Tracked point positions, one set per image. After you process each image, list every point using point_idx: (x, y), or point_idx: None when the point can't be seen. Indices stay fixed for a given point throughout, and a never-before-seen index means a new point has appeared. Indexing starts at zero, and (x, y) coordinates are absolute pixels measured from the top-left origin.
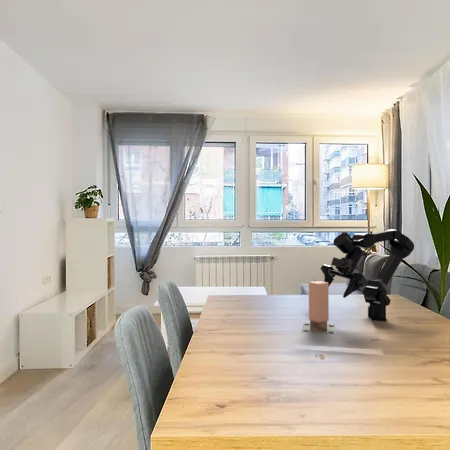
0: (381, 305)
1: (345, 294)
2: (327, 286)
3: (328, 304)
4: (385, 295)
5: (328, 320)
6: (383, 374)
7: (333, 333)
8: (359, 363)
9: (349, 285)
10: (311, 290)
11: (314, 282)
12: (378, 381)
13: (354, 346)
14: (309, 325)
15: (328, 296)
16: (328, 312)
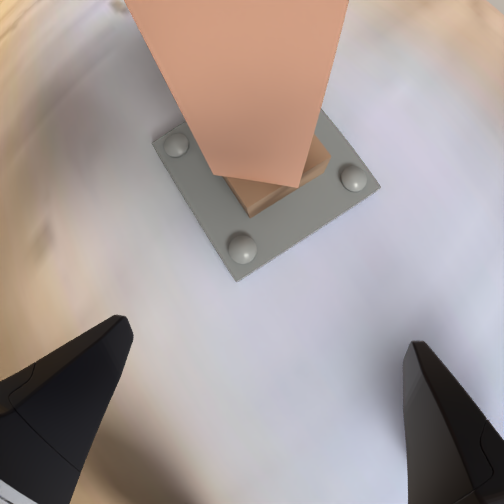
0: None
1: (94, 330)
2: (141, 8)
3: (190, 128)
4: None
5: (214, 173)
6: (5, 52)
7: (161, 140)
8: (40, 47)
9: (12, 395)
10: None
11: None
12: (13, 29)
13: (69, 120)
14: (331, 171)
15: (171, 92)
16: (203, 153)
